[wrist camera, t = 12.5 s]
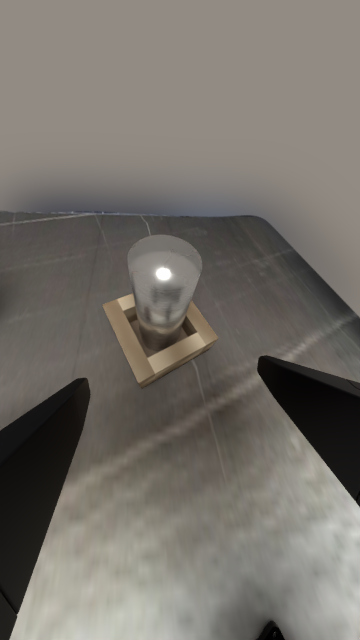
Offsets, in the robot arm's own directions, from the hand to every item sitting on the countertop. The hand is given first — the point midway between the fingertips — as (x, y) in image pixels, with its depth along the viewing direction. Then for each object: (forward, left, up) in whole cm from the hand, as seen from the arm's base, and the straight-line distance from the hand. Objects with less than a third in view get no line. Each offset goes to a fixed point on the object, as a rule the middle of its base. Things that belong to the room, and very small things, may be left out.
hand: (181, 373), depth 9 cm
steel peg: (+3, +7, -12) cm, 14 cm away
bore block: (+3, +7, -13) cm, 15 cm away
